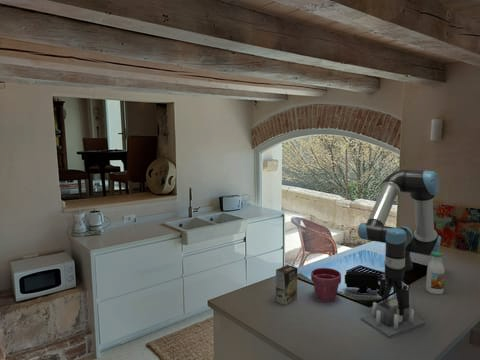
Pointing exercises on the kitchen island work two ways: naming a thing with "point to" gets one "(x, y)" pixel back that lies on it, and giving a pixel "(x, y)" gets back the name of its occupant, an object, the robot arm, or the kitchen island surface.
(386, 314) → the grey block
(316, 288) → the plant pot
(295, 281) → the coffee box
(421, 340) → the kitchen island surface
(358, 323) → the kitchen island surface
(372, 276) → the security camera
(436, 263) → the milk bottle
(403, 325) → the tray
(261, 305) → the kitchen island surface
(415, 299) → the kitchen island surface
